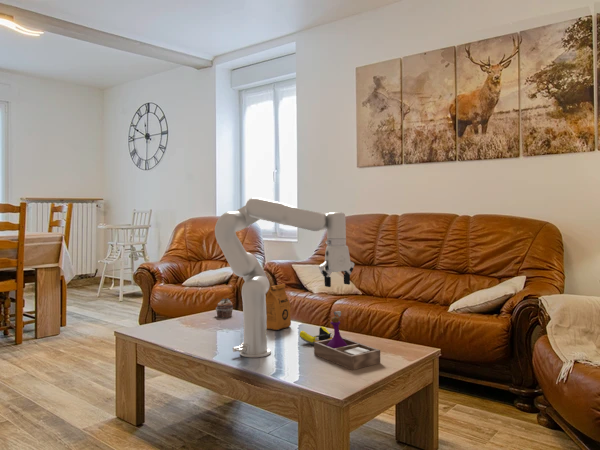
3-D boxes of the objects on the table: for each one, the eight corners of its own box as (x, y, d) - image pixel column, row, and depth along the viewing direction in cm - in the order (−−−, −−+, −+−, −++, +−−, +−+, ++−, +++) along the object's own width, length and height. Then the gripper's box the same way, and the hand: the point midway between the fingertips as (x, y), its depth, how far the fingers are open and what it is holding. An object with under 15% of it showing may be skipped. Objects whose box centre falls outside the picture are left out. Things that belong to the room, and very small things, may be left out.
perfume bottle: (325, 354, 193) (324, 310, 193) (341, 351, 196) (340, 308, 196) (333, 359, 187) (333, 313, 186) (350, 356, 189) (349, 311, 189)
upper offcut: (355, 361, 177) (355, 354, 177) (343, 357, 182) (343, 351, 182) (369, 356, 182) (369, 350, 182) (358, 353, 187) (358, 347, 187)
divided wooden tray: (351, 370, 173) (351, 356, 173) (314, 354, 193) (314, 342, 193) (380, 363, 181) (380, 350, 181) (341, 348, 201) (341, 336, 201)
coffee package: (294, 327, 240) (293, 284, 239) (276, 332, 230) (276, 287, 230) (279, 324, 246) (279, 282, 246) (262, 329, 237) (261, 285, 236)
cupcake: (228, 313, 275) (228, 296, 275) (235, 316, 267) (235, 298, 267) (213, 315, 270) (212, 298, 270) (220, 318, 262) (219, 300, 262)
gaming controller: (297, 343, 211) (312, 347, 203) (297, 330, 211) (312, 335, 203) (322, 337, 220) (337, 341, 212) (322, 325, 220) (337, 329, 212)
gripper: (324, 244, 183) (325, 288, 183) (359, 242, 192) (360, 284, 192) (313, 243, 189) (314, 286, 189) (347, 241, 198) (348, 282, 199)
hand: (337, 285), depth 191 cm, fingers open, 9 cm apart
